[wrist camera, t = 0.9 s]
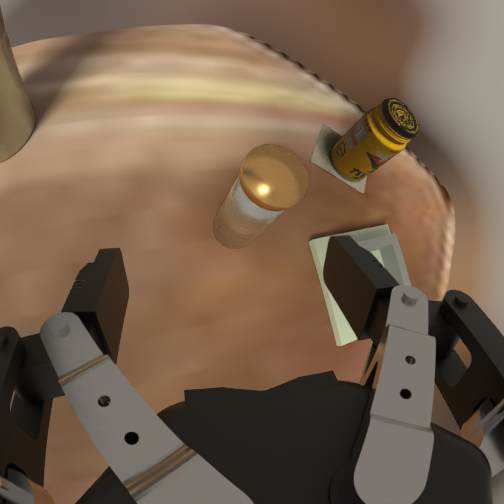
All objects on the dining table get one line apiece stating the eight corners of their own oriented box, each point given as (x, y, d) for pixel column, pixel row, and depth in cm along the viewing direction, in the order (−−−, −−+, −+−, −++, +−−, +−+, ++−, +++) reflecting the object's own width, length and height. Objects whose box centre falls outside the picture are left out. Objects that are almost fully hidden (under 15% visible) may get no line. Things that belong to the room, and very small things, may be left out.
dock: (308, 241, 34) (324, 232, 30) (382, 226, 38) (399, 217, 34) (336, 345, 32) (355, 346, 28) (406, 313, 36) (425, 310, 32)
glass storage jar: (206, 210, 31) (235, 146, 20) (249, 203, 33) (296, 143, 21) (217, 254, 30) (253, 210, 19) (261, 245, 32) (317, 201, 21)
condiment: (362, 194, 38) (425, 152, 27) (309, 161, 37) (363, 105, 25) (370, 156, 40) (424, 113, 29) (322, 125, 39) (369, 71, 28)
